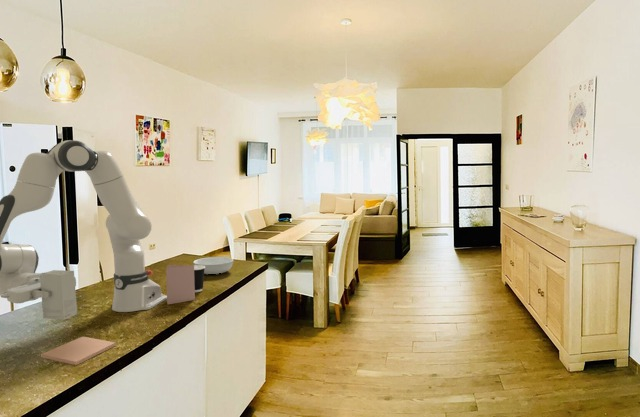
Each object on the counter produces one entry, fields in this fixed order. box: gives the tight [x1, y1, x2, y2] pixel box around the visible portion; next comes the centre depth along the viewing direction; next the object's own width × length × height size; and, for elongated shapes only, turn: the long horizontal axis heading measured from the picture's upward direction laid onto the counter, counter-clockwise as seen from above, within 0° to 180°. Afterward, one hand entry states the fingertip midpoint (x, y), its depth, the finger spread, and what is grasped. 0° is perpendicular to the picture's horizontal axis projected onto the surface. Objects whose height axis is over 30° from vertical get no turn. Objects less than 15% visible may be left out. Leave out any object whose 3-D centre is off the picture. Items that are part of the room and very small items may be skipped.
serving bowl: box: [192, 256, 234, 275], centre depth 223 cm, size 21×21×7 cm
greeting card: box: [165, 264, 196, 305], centre depth 174 cm, size 11×7×15 cm, turn 89°
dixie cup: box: [194, 265, 205, 293], centre depth 190 cm, size 8×8×11 cm
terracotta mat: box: [40, 336, 117, 366], centre depth 127 cm, size 14×14×1 cm
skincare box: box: [40, 269, 78, 321], centre depth 134 cm, size 8×6×15 cm
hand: (60, 291), depth 133 cm, fingers closed on skincare box, 6 cm apart
